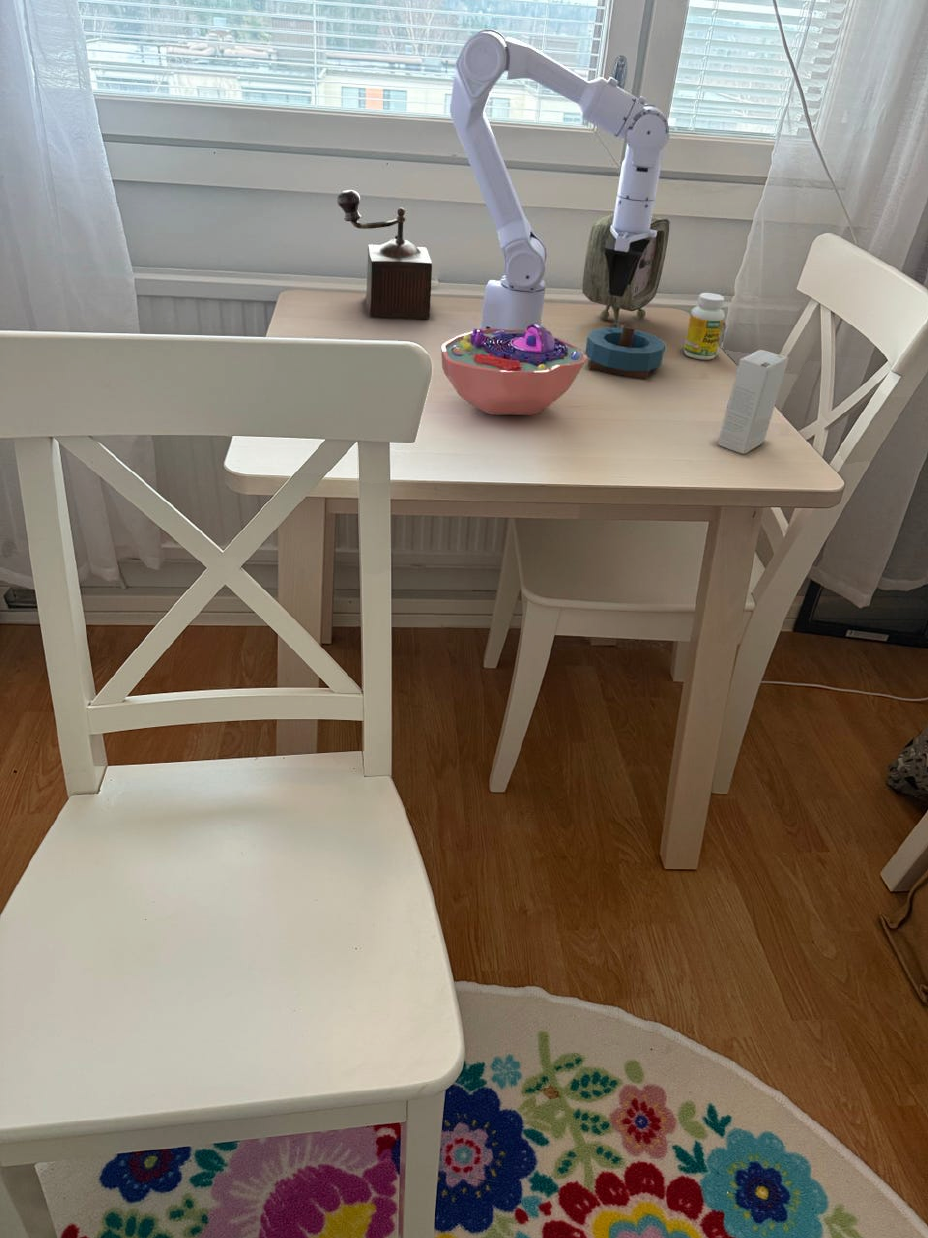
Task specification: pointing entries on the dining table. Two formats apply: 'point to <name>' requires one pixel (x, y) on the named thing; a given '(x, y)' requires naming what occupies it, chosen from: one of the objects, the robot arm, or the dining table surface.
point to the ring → (625, 350)
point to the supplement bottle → (705, 327)
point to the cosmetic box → (752, 401)
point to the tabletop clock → (645, 274)
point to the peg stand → (625, 341)
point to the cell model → (511, 368)
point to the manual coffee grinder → (393, 269)
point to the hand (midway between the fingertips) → (620, 289)
